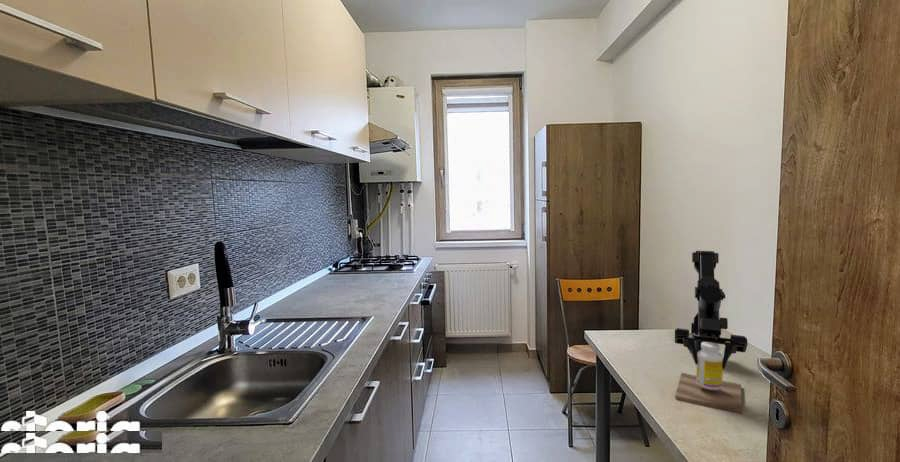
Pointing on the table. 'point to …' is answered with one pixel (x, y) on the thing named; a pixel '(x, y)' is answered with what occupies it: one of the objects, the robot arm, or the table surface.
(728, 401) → the walnut board
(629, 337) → the table surface
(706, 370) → the supplement bottle
